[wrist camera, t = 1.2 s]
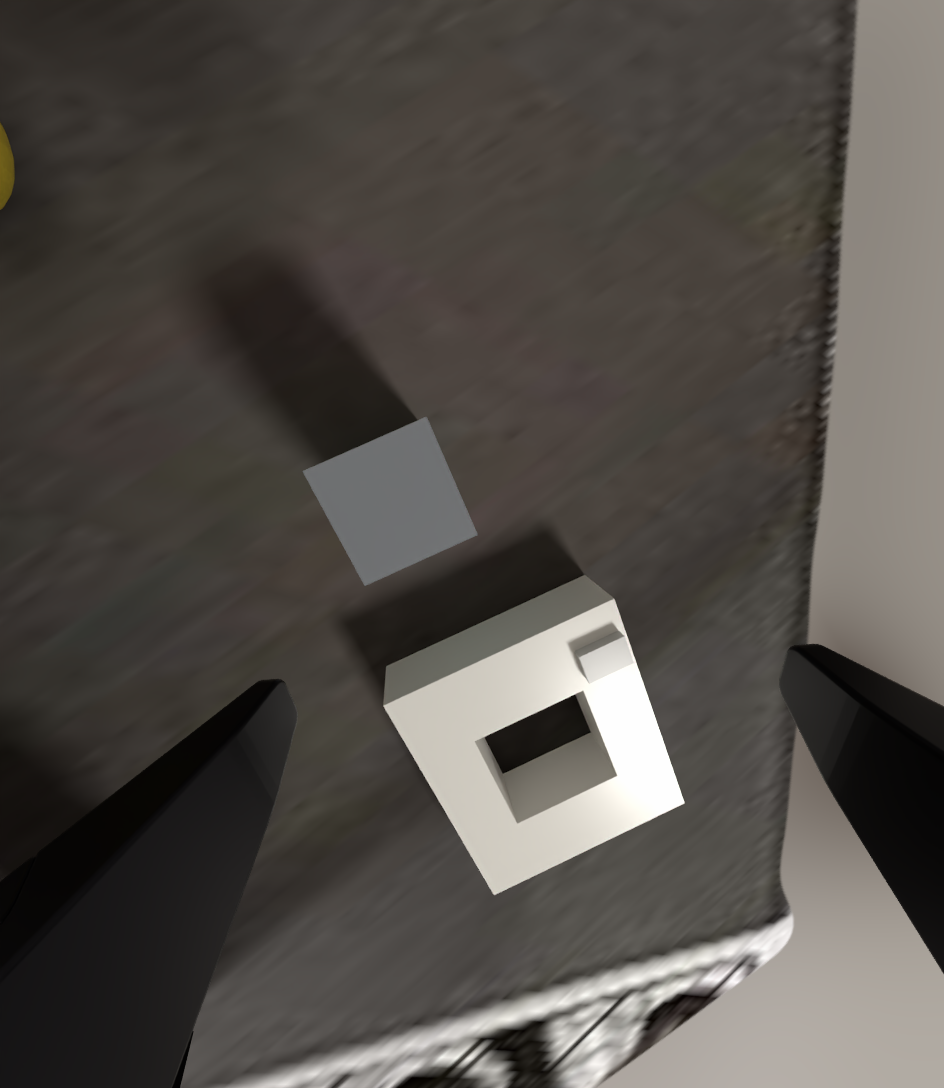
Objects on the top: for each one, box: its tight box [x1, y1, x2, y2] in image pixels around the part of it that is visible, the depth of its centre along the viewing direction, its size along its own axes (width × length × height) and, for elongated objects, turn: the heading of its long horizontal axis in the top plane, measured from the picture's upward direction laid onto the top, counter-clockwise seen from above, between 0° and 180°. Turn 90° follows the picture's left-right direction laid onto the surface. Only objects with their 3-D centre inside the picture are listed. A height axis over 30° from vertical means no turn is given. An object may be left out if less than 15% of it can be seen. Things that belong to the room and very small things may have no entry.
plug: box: [303, 417, 478, 586], centre depth 17 cm, size 4×4×8 cm
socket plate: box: [383, 575, 684, 895], centre depth 24 cm, size 12×14×4 cm
